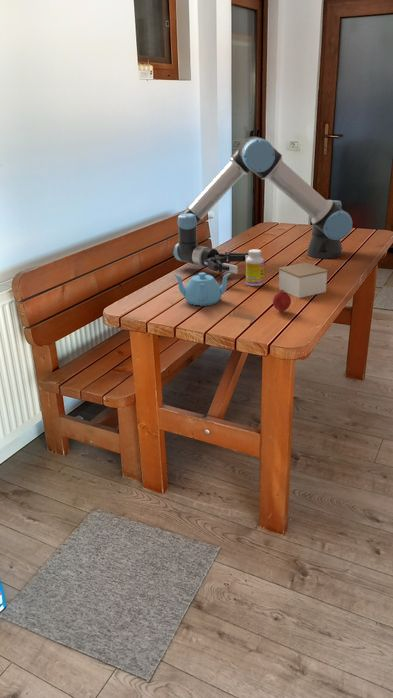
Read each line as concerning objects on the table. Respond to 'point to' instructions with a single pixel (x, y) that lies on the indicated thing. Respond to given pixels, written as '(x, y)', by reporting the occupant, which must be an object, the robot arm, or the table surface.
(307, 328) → the table surface
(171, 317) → the table surface
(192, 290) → the teapot
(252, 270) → the supplement bottle
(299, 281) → the riser block
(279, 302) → the onion
